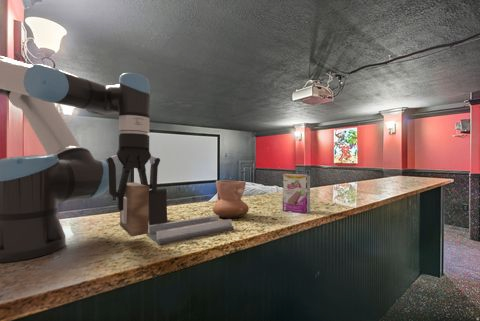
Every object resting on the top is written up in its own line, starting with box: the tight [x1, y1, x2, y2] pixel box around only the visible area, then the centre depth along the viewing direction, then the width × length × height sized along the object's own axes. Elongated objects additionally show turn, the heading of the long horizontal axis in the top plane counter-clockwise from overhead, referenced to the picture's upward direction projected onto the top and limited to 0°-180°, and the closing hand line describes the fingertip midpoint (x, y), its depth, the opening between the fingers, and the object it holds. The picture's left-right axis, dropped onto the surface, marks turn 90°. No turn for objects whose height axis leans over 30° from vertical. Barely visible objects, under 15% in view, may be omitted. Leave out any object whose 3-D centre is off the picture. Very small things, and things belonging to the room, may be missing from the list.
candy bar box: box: [282, 173, 311, 214], centre depth 108 cm, size 11×5×16 cm, turn 58°
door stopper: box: [148, 188, 168, 225], centre depth 89 cm, size 9×6×12 cm, turn 22°
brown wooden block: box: [119, 182, 150, 237], centre depth 66 cm, size 4×12×12 cm, turn 38°
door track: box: [146, 214, 235, 246], centre depth 76 cm, size 24×11×3 cm, turn 128°
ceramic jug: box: [212, 179, 249, 219], centre depth 100 cm, size 18×14×14 cm
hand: (133, 221), depth 66 cm, fingers closed on brown wooden block, 4 cm apart
